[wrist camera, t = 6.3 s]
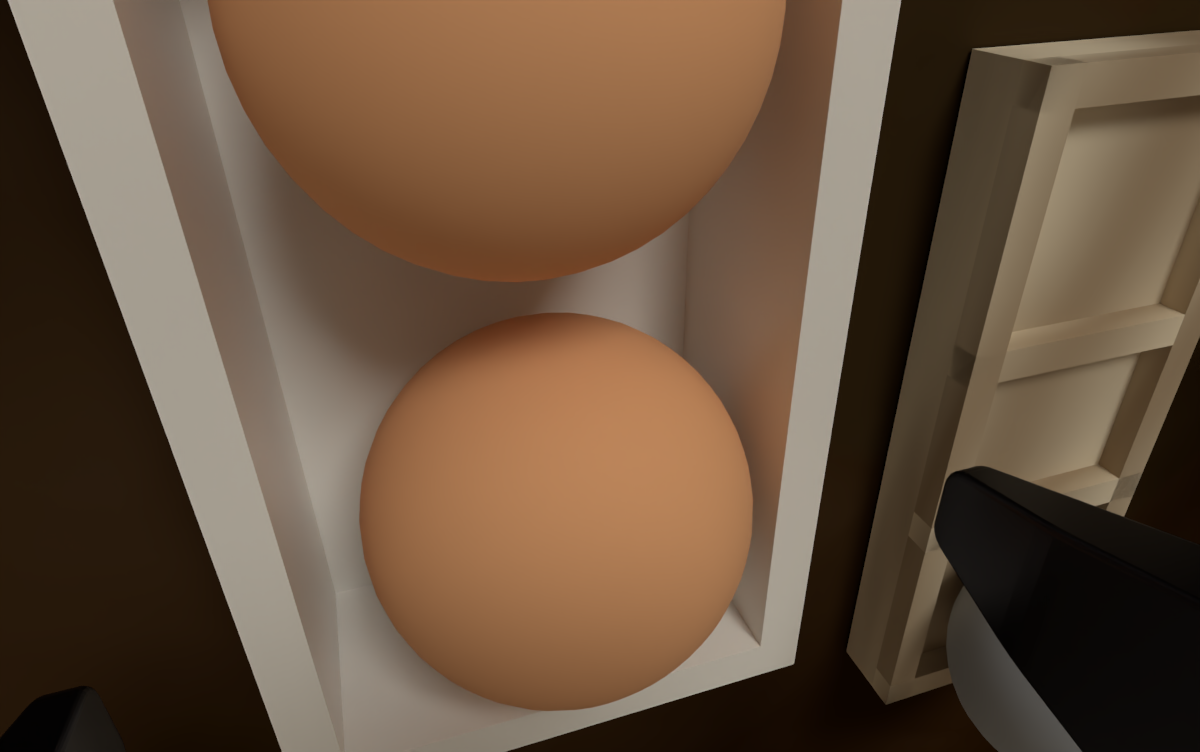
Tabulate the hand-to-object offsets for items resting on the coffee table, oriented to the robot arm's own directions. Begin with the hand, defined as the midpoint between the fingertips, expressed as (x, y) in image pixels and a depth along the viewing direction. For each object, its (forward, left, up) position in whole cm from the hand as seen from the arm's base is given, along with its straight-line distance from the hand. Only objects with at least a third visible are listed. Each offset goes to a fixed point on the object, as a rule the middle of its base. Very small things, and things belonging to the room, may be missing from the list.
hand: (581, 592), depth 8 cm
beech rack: (-10, +2, -4) cm, 11 cm away
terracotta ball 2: (0, 0, -4) cm, 4 cm away
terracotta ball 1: (0, -5, -4) cm, 7 cm away
